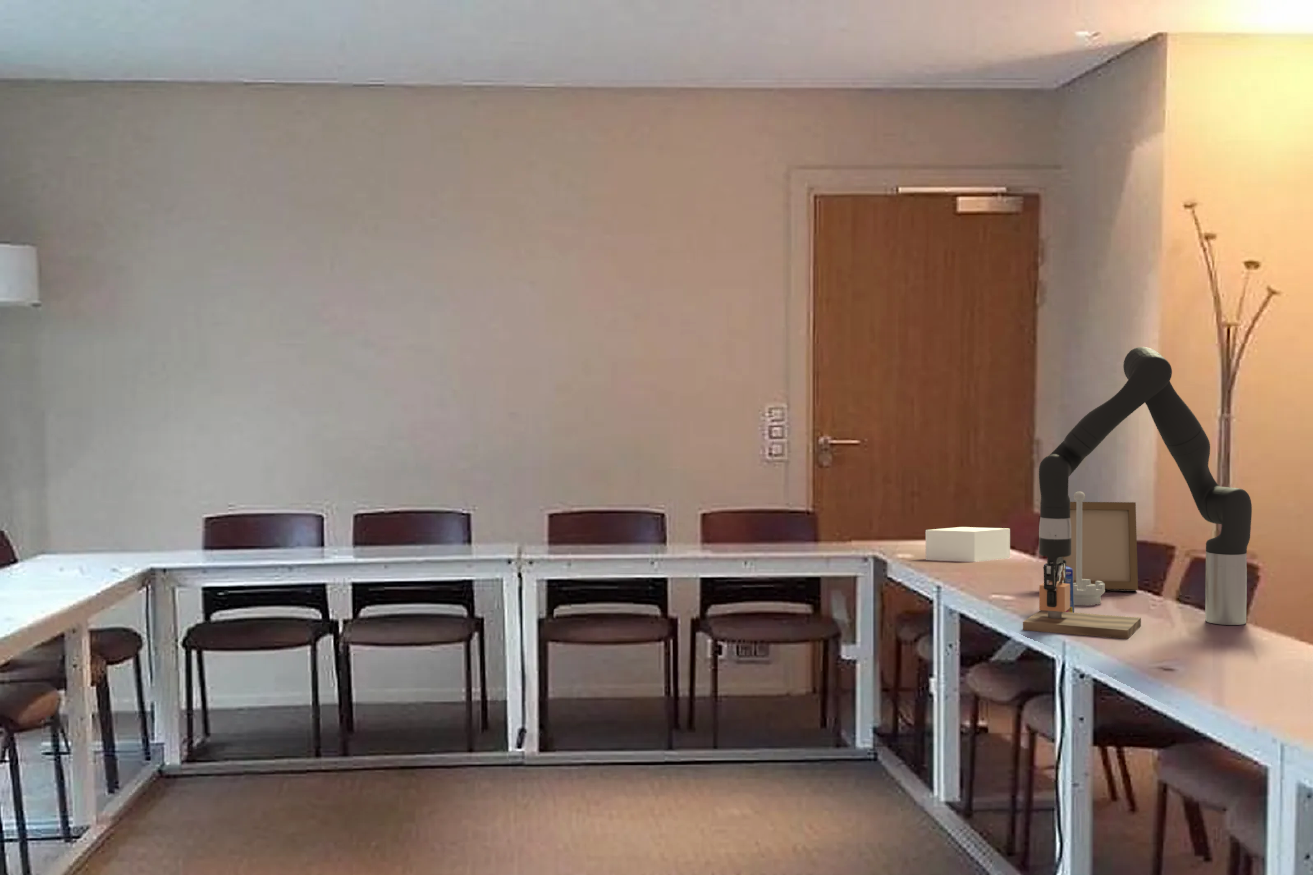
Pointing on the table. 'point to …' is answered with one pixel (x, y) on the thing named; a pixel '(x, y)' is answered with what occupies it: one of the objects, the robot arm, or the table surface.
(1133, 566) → the photo frame
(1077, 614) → the base plate
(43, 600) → the table surface
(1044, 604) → the orange cube
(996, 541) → the white rectangular box
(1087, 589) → the flag stand
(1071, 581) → the ink cartridge box
